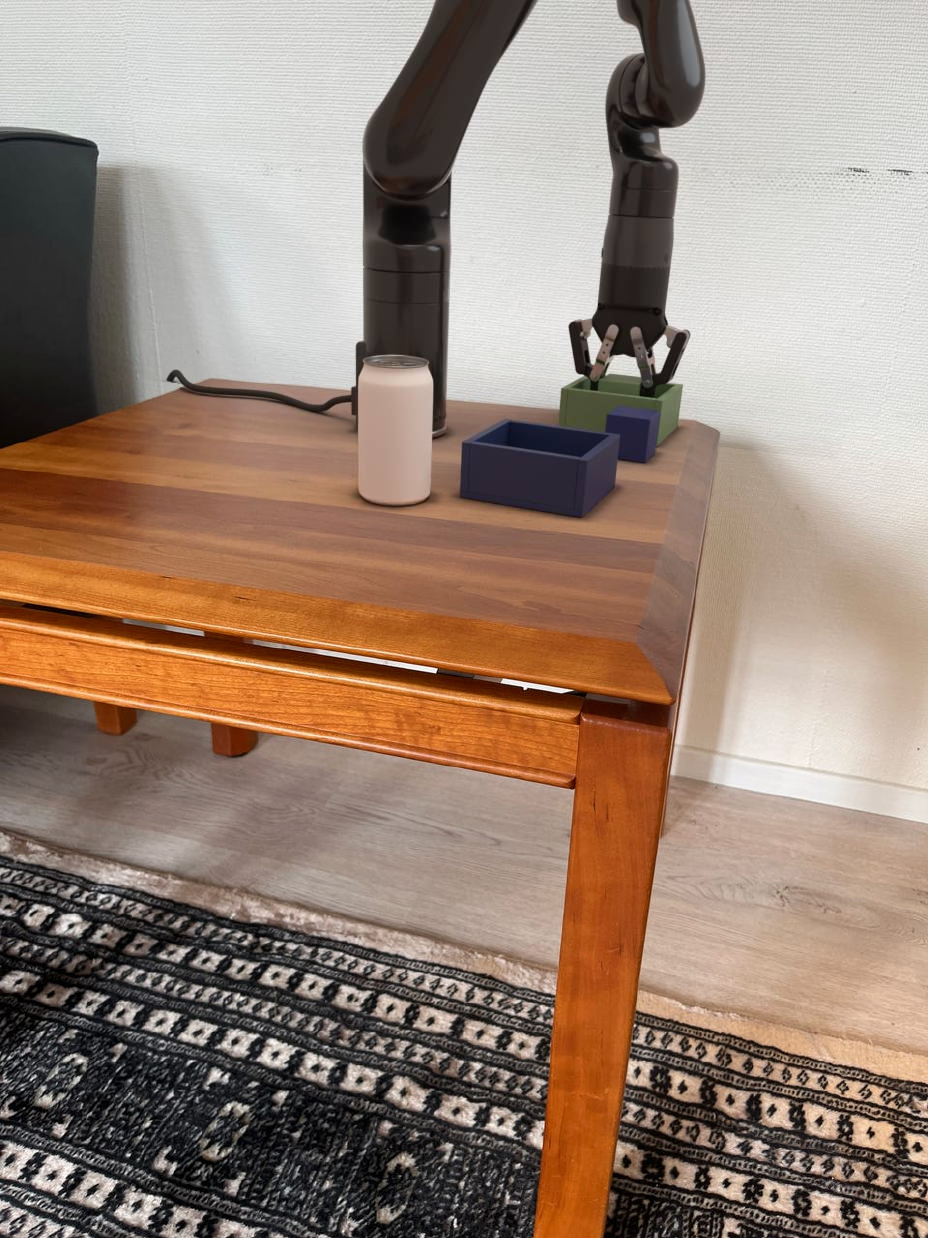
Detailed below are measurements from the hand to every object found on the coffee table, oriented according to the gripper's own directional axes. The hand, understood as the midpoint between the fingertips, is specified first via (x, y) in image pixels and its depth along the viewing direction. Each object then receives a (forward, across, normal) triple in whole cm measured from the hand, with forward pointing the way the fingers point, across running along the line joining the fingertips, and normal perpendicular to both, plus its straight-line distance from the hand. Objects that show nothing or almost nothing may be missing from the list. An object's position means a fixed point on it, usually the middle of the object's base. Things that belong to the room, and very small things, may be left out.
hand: (619, 415), depth 115 cm
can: (+2, +11, +36) cm, 38 cm away
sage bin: (+2, 0, 0) cm, 2 cm away
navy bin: (+2, 0, +28) cm, 28 cm away
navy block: (+2, -4, +10) cm, 11 cm away
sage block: (0, 0, 0) cm, 0 cm away
